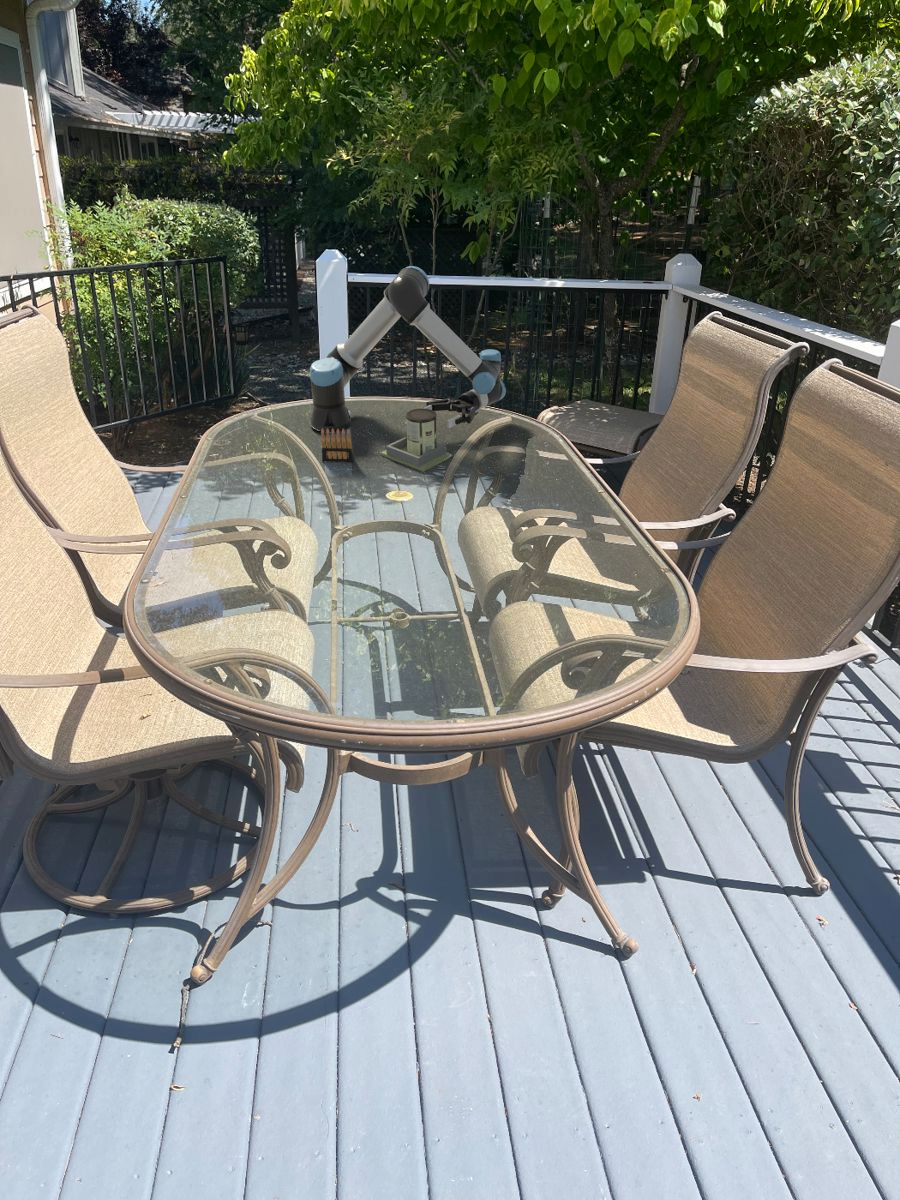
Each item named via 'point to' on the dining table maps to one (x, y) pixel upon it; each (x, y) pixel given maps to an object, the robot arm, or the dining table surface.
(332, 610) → the dining table surface
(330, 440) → the ammunition clip
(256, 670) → the dining table surface
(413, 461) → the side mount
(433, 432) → the coffee can
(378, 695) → the dining table surface
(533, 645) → the dining table surface
